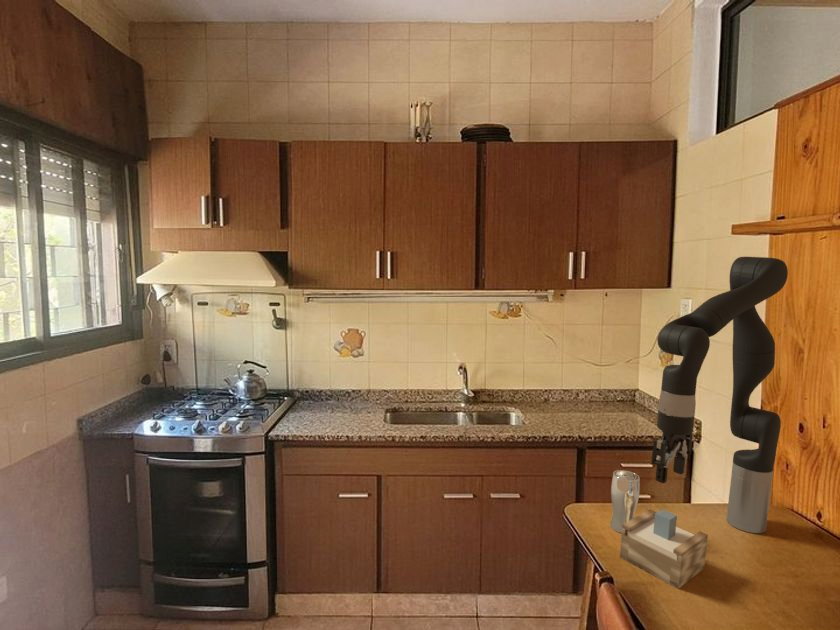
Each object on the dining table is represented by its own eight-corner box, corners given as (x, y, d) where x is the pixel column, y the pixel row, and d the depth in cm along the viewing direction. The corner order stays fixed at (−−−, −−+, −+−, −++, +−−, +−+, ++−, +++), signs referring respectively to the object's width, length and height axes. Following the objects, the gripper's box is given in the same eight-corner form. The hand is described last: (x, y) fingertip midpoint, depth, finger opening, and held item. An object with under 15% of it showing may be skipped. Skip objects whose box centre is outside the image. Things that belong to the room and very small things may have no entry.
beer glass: (640, 528, 131) (644, 475, 130) (629, 538, 127) (634, 483, 125) (614, 518, 136) (619, 467, 135) (603, 527, 132) (608, 474, 130)
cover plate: (652, 520, 124) (654, 497, 124) (700, 542, 115) (703, 518, 114) (627, 535, 117) (629, 511, 116) (676, 560, 108) (679, 534, 107)
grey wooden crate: (647, 539, 126) (649, 509, 125) (704, 567, 115) (707, 534, 114) (619, 557, 118) (622, 524, 117) (678, 588, 107) (681, 553, 106)
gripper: (674, 402, 120) (668, 465, 121) (644, 411, 111) (638, 478, 113) (706, 410, 114) (700, 476, 116) (678, 420, 105) (671, 491, 107)
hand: (669, 477), depth 114 cm, fingers open, 8 cm apart
